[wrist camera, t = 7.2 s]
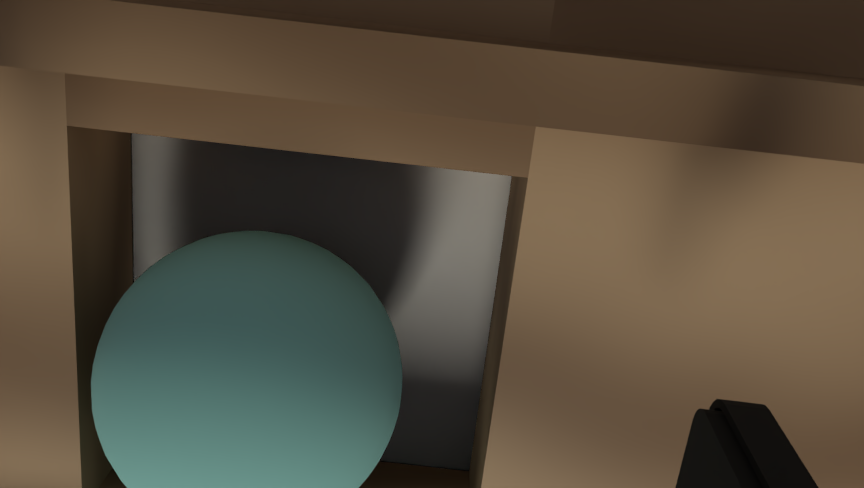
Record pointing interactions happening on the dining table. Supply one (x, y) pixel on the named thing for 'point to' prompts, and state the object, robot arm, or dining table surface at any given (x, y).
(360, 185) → the dining table surface
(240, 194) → the dining table surface
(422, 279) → the dining table surface
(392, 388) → the ball
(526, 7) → the track board
